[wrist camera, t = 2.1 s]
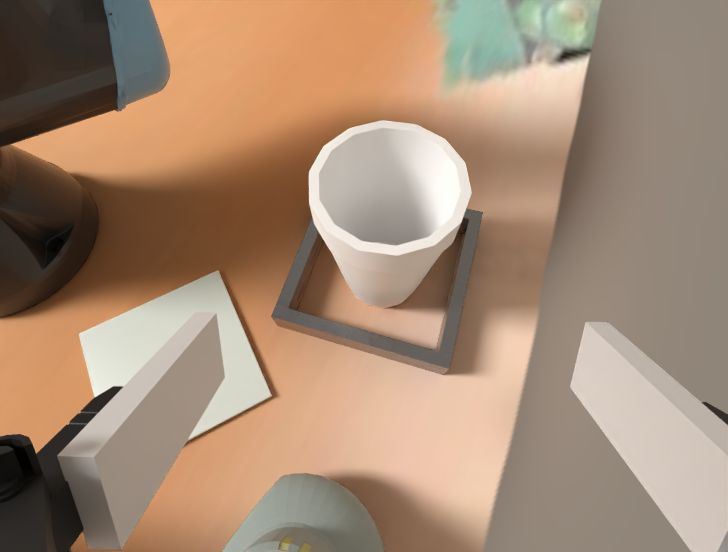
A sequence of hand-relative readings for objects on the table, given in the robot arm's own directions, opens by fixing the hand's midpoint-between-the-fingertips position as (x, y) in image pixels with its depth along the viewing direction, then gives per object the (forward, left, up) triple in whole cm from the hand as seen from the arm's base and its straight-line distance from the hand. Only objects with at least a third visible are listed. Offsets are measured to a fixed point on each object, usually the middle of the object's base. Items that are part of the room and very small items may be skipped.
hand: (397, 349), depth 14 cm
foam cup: (-9, +5, -18) cm, 21 cm away
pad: (-10, -13, -18) cm, 24 cm away
